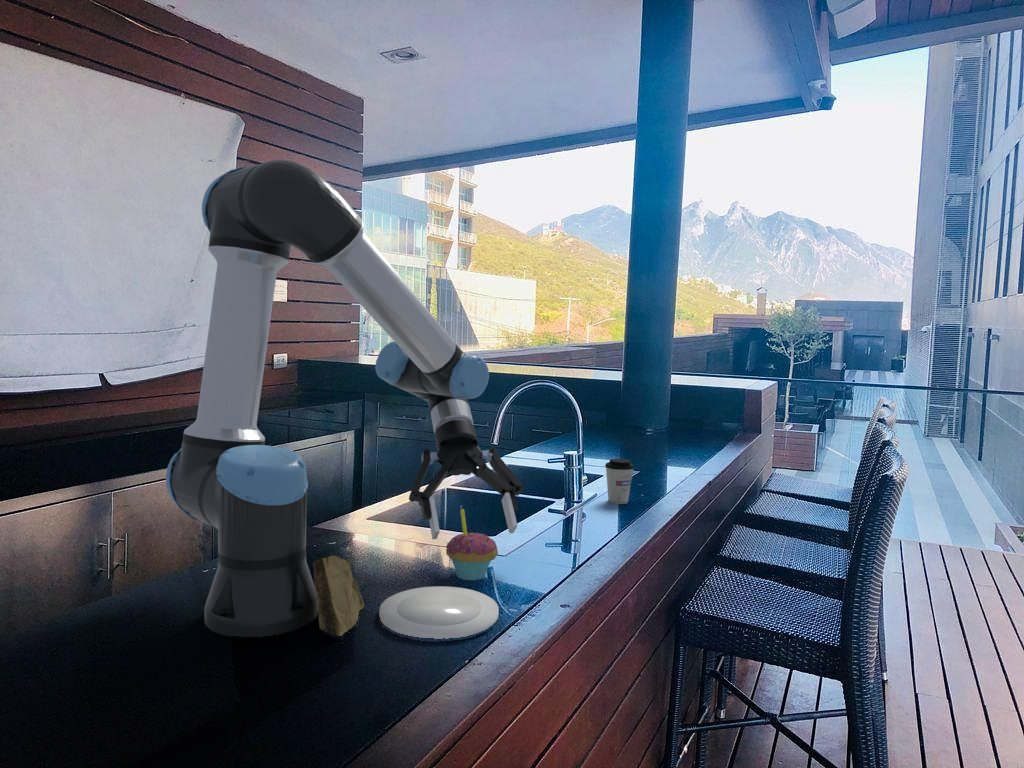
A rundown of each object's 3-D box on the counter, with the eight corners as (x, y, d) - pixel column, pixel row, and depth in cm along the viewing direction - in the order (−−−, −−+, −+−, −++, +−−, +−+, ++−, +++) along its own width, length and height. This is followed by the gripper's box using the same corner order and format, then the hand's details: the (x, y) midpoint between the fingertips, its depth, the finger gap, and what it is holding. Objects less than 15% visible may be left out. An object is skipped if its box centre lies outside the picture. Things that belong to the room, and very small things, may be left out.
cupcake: (450, 586, 117) (452, 512, 116) (441, 568, 125) (442, 499, 124) (502, 582, 119) (504, 510, 118) (490, 565, 128) (492, 497, 127)
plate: (390, 648, 95) (390, 638, 94) (371, 599, 111) (371, 590, 110) (514, 634, 100) (515, 624, 100) (479, 589, 116) (479, 581, 116)
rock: (343, 583, 110) (288, 593, 102) (372, 546, 108) (318, 552, 100) (378, 644, 105) (322, 659, 97) (409, 606, 102) (355, 618, 94)
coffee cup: (597, 499, 177) (599, 458, 176) (622, 497, 180) (624, 457, 179) (613, 506, 171) (615, 464, 170) (638, 504, 174) (640, 462, 173)
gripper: (512, 439, 143) (537, 537, 130) (384, 443, 135) (398, 548, 122) (522, 416, 138) (550, 516, 125) (389, 419, 129) (405, 526, 116)
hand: (475, 532), depth 123 cm, fingers open, 13 cm apart
